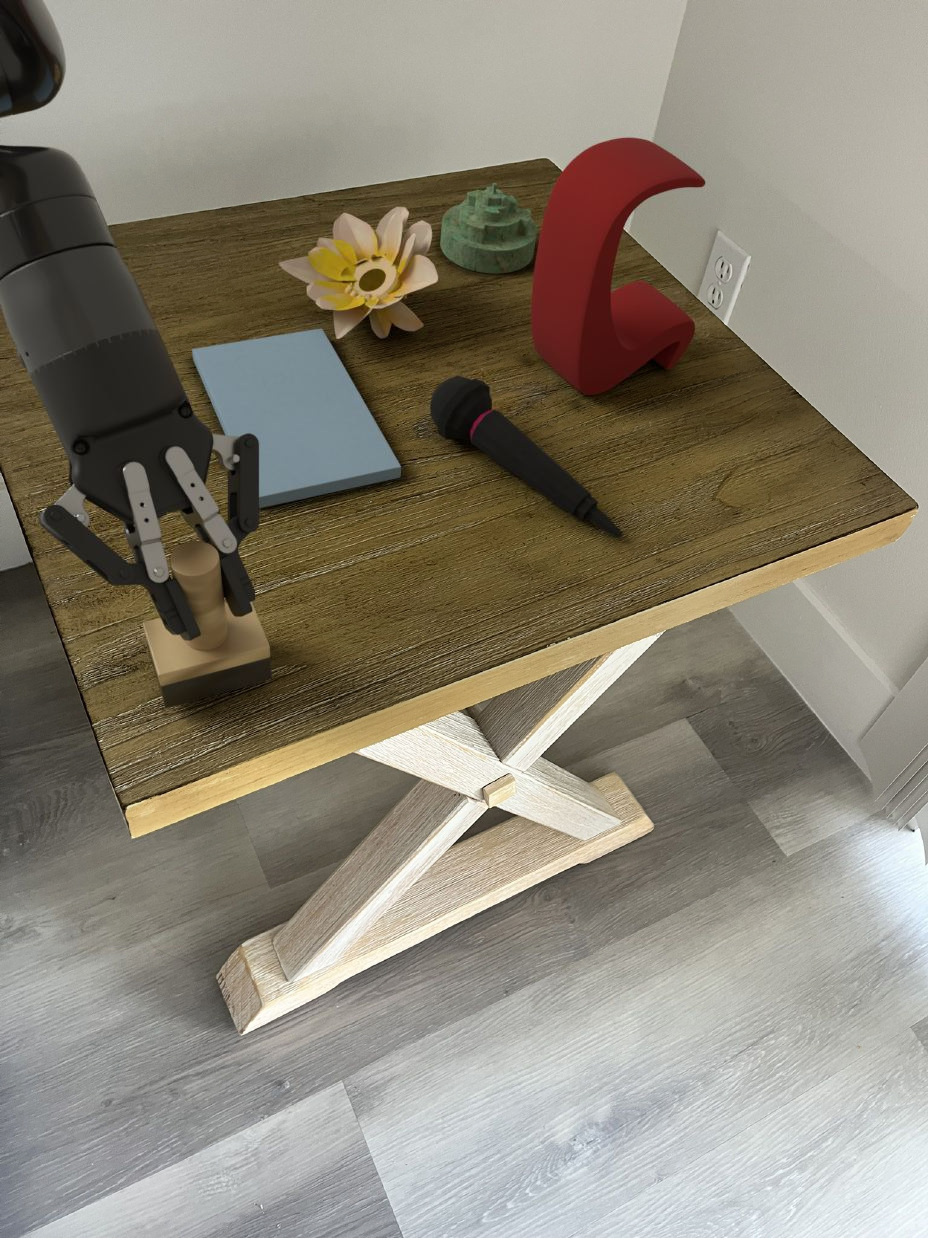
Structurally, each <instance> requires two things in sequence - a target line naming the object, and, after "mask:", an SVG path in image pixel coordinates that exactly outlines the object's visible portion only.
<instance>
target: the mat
mask: <svg viewBox="0 0 928 1238" xmlns="http://www.w3.org/2000/svg"><path fill="white" fill-rule="evenodd" d="M191 352H192V360H193V362H194V365H195V367H196V370H197V372H198V374H199V377H200V378H201V382H202V383H203V386H204V388H205V391H206V393H207V395H208V397H209V400H210V402H211V404H212V408H213V409H214V412H215V414H216V417H217V419H218V421H219V424H220V426H221V428H222V431H223V432H224V435H227V436H237V437H239V436H241V435H244V434H247V433H250V434H253V435H255V436H256V437H257V439H258V441H259V509H262V508H268V507H271V506H277V505H281V504H285V503H290V502H295V501H299V500H303V499H309V498H315V497H318V496H322V495H327V494H332V493H335V492H341V491H346V490H350V489H355V488H359V487H364V486H368V485H372V484H378V483H381V482H387V481H391V480H396V479H400V478H401V475H402V466H401V464H400V462H399V460H398V458H397V457H396V455H395V453H394V451H393V450H392V447H391V446H390V444H389V443H388V441H387V440H386V439H387V438H385V436H384V434H383V433H382V431H381V429H380V427H379V425H378V423H377V422H376V420H375V418H374V416H373V415H372V413H371V411H370V409H369V408H368V406H367V404H366V403H365V400H364V399H363V398H362V396H361V394H360V391H359V390H358V388H357V387H356V385H355V383H354V381H353V380H352V378H351V376H350V375H349V373H348V370H347V369H346V368H345V366H344V364H343V363H342V361H341V359H340V357H339V355H338V353H337V351H336V349H335V348H334V347H333V345H332V343H331V342H330V340H329V337H328V336H327V334H326V332H325V331H324V329H323V328H315V329H309V330H302V331H297V332H291V333H285V334H277V335H273V336H266V337H260V338H255V339H247V340H241V341H234V342H229V343H221V344H215V345H209V346H203V347H197V348H192V349H191Z"/></svg>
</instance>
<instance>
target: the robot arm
mask: <svg viewBox="0 0 928 1238" xmlns="http://www.w3.org/2000/svg"><path fill="white" fill-rule="evenodd" d="M64 47H65V46H64V44H63V41H62V38H61V35H60V32H59V30H58V28H57V25H56V23H55V21H54V19H53V16H52V14H51V13H50V11H49V9H48V6H47V5H46V3H45V1H44V0H0V119H3V118H4V119H5V118H8V117H11V116H17V115H21V114H25V113H29V112H34V111H38V110H40V109H42V108H45V107H47V105H49V104H50V103H52V101H53V100H54V99H55V98H56V97H57V96H58V94H59V92H60V91H61V88H62V86H63V84H64V81H65V77H66V71H67V60H66V59H67V58H66V52H65V48H64ZM0 308H1V311H2V313H3V318H4V321H5V324H6V327H7V331H8V332H9V334H10V337H11V339H12V341H13V344H14V346H15V348H16V352H17V357H18V360H19V362H20V363H21V365H22V367H23V368H24V369H25V370H26V372H27V374H28V376H29V378H30V380H31V382H32V384H33V386H34V389H35V390H36V392H37V395H38V397H39V399H40V401H41V403H42V405H43V408H44V410H45V411H46V414H47V416H48V418H49V420H50V422H51V425H52V427H53V429H54V431H55V433H56V435H57V438H58V439H59V442H60V443H61V446H62V448H63V450H64V452H65V454H66V456H67V459H68V466H69V468H68V469H69V470H68V482H69V485H70V486H69V487H68V489H67V490H66V491H65V492H64V493H63V494H62V495H61V496H60V497H59V498H58V499H57V500H56V501H55V502H54V503H53V504H50V505H48V507H46V508H45V509H43V510H42V511H41V512H40V513H39V514H38V523H39V525H40V527H42V528H43V529H44V530H45V531H46V532H48V534H50V535H51V536H52V537H53V538H54V539H56V541H58V542H60V544H61V545H63V546H64V547H65V548H66V549H68V550H69V551H70V552H71V553H72V554H73V555H75V556H76V557H77V558H78V559H80V560H81V561H82V562H83V563H84V564H85V565H86V566H88V567H89V568H90V569H91V570H93V571H94V572H95V573H96V574H97V575H98V576H100V577H101V578H102V580H104V581H106V582H107V583H108V584H109V585H111V586H114V587H122V586H139V587H143V588H144V589H145V590H146V591H147V592H148V594H149V596H150V599H151V600H152V601H151V602H152V603H153V605H154V607H155V609H156V611H157V613H158V616H159V618H161V620H162V622H163V624H164V626H165V629H166V630H168V631H169V632H170V633H171V634H172V635H180V636H181V637H182V639H183V640H186V641H191V640H193V639H195V638H197V637H199V636H201V632H200V629H199V627H198V625H197V623H196V620H195V618H194V616H193V614H192V612H191V609H190V607H189V605H188V603H187V601H186V599H185V596H184V594H183V592H182V590H181V588H180V585H179V583H178V581H177V579H176V578H175V579H173V578H172V576H171V575H170V573H171V572H170V571H171V570H170V568H169V563H168V561H167V556H166V553H165V550H164V545H163V535H162V530H161V526H160V523H159V519H162V518H163V517H164V516H165V515H167V514H168V513H176V512H179V514H180V515H181V517H182V518H183V520H184V521H185V523H186V524H187V525H188V526H189V527H191V529H192V530H193V531H194V533H195V534H196V536H197V537H198V539H199V541H200V542H205V543H208V544H210V545H212V546H213V547H214V548H215V549H216V550H217V551H218V554H219V559H220V567H221V575H222V583H223V591H224V600H225V602H227V604H228V606H229V609H230V611H231V612H232V614H233V615H234V616H235V617H242V616H245V615H247V614H249V613H251V612H252V611H253V610H252V606H251V603H250V602H254V601H256V590H255V587H254V586H253V583H252V581H251V579H250V577H249V574H248V572H247V569H246V567H245V564H244V562H243V561H242V558H241V556H240V553H239V547H240V545H241V543H242V542H243V541H244V540H245V539H246V538H247V537H248V536H249V535H250V534H251V533H254V532H255V531H257V530H258V528H259V526H260V508H259V441H258V439H257V437H256V436H255V435H253V434H250V433H247V434H244V435H241V436H239V437H237V436H227V435H225V434H215V433H213V432H212V430H211V429H210V427H209V426H207V425H206V424H205V423H204V422H203V421H202V420H201V419H199V417H198V416H197V415H196V413H195V412H194V410H193V408H192V405H191V403H190V399H189V397H188V395H187V392H186V390H185V388H184V386H183V383H182V381H181V379H180V377H179V374H178V372H177V370H176V368H175V365H174V363H173V360H172V358H171V356H170V354H169V351H168V348H167V347H166V345H165V342H164V340H163V338H162V336H161V333H160V331H159V329H158V326H157V324H156V322H155V320H154V317H153V315H152V313H151V310H150V308H149V306H148V304H147V301H146V299H145V296H144V293H143V292H142V290H141V288H140V286H139V284H138V282H137V280H136V278H135V277H134V275H133V274H132V272H131V270H130V268H129V267H128V265H127V264H126V262H125V260H124V259H123V256H122V255H121V252H120V250H119V249H118V246H117V243H116V241H115V239H114V236H113V234H112V233H111V230H110V228H109V225H108V223H107V220H106V219H105V216H104V214H103V211H102V209H101V207H100V205H99V203H98V201H97V198H96V195H95V193H94V191H93V188H92V186H91V184H90V182H89V180H88V178H87V176H86V174H85V172H84V170H83V169H82V167H81V165H80V164H79V162H78V161H77V160H76V159H75V158H74V157H73V155H71V154H69V153H68V152H66V151H65V150H62V149H60V148H56V147H52V146H42V145H13V144H12V145H9V144H0ZM212 454H213V455H215V456H216V458H217V462H218V466H219V468H220V469H221V470H222V471H223V472H226V473H227V522H226V521H225V519H224V518H223V516H222V514H221V509H220V507H219V505H218V504H217V502H216V500H215V499H214V497H213V496H212V494H211V492H210V490H209V489H208V488H207V487H206V484H207V478H208V473H209V468H210V464H211V458H212ZM85 500H86V501H88V502H89V503H91V504H93V505H94V506H95V507H98V508H100V509H101V510H103V511H105V512H106V513H108V514H110V515H111V516H113V517H115V518H116V519H118V520H120V521H121V524H122V526H123V530H124V534H125V538H126V541H127V543H128V546H129V548H130V549H131V552H132V555H133V559H134V563H131V562H130V563H128V562H127V561H126V559H124V558H123V557H122V556H121V555H120V554H118V552H116V551H115V550H114V549H112V548H111V547H110V546H109V545H108V544H107V543H105V541H103V540H102V539H101V538H100V537H99V536H97V534H95V533H94V532H93V531H92V530H91V529H90V528H88V526H89V525H90V524H91V523H90V522H91V516H90V513H89V512H88V511H87V510H86V508H85V506H84V501H85Z"/></svg>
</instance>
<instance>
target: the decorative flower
mask: <svg viewBox="0 0 928 1238" xmlns="http://www.w3.org/2000/svg"><path fill="white" fill-rule="evenodd" d="M409 214H410V212H409V210H408V209H407V208H406V207H405V206H396V207H393V208H392V209H390V211H388V212H387V213H386V214H385V215H384V216H382V218H381V219H380V220H379V223H378V224H377V226H376V230H374V229H373V228H372V227H371V225H370V224H369V223H368V222H366V221H364V220H362V219H360V218H358V217H356V216H354V215H352V214H351V213H347V212H343V213H342V214H340V215H339V216H338V217H337V218H336V219H335V220H334V222H333V227H332V237H333V238H328V237H319V238H318V240H317V242H316V246H315V247H313V248H312V249H311V250H309V251H308V252H307V253H308V254H307V255H305V256H301V257H296V258H291V259H285V260H283V261H279V262H278V265H279V267H280V268H281V269H282V270H284V271H285V272H287V273H288V274H289V275H291V276H293V277H295V278H296V279H299V280H300V281H302V282H305V283H306V284H308V285H307V286H306V296H307V297H309V298H310V299H311V300H313V301H314V302H315V305H316V306H318V307H319V308H320V309H321V310H329V311H333V312H332V318H333V326H334V327H333V328H334V333H335V335H334V336H335V338H336V340H339V339H341V338H343V337H344V336H345V335H347V334H348V333H350V332H351V331H352V330H353V329H355V328H356V327H357V326H358V325H359V324H360V323H361V322H362V321H363V320H364V319H365V318H366V317H367V316H368V317H369V318H368V319H369V321H370V326H371V330H372V331H373V333H374V334H375V335H376V336H377V337H378V338H380V339H385V338H387V337H388V336H389V334H390V330H391V326H392V324H393V325H394V326H395V327H397V328H399V329H401V330H403V331H406V332H415V331H418V330H420V329H421V328H423V327H424V326H425V324H424V323H423V322H422V320H420V319H419V317H418V316H417V315H416V313H414V312H413V311H412V310H411V309H410V308H409V307H408V305H406V304H405V303H404V302H402V301H401V300H402V299H404V300H407V299H408V297H407V295H408V294H410V293H413V292H417V291H419V290H422V289H424V288H427V287H429V286H432V285H434V284H436V283H437V282H438V281H439V275H438V272H437V269H436V266H435V264H434V263H433V262H432V261H431V260H430V259H429V258H428V257H426V254H427V253H428V251H429V249H430V246H431V242H432V240H433V239H432V238H433V231H432V226H431V224H430V223H428V222H426V221H425V220H423V219H421V220H419V221H417V222H415V223H413V224H412V225H410V227H409V228H408V229H407V230H406V232H405V233H404V229H405V227H406V226H407V225H406V224H407V221H408V218H409ZM403 233H404V236H403Z"/></svg>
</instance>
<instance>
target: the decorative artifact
mask: <svg viewBox="0 0 928 1238" xmlns="http://www.w3.org/2000/svg"><path fill="white" fill-rule="evenodd" d="M441 219H442V220H441V230H440V240H439V241H440V243H439V244H440V246H439V247H440V249H441V251H442V253H443V255H444V256H445V257H446V258H447V259H448V260H449V261H451V262H452V263H453V264H454V265H457V266H459V267H461V268H464V269H466V270H469V271H473V272H477V273H483V274H493V275H497V274H498V275H499V274H508V273H512V272H513V273H514V272H516V271H519V270H521V269H524V268H525V267H526V266H527V265H529V264H530V263H531V261H532V260H533V258H534V253H535V248H536V247H535V246H536V241H537V236H538V235H537V234H538V228H537V225H536V222H535V221H534V220H533V219H532V211H531V209H530V208H521V206H520V205H519V204H518V201H517V199H516V198H515V197H514V195H512V194H510V195H506V194H504V192H503V191H502V190H501V189H499V188H498V183H497V182H493V183H492V186H486V187H485V190H484V189H483V190H481V189H480V190H479V189H476V190H473V191H468V192H466V198H465V199H463V201H462V202H461V203H459V204H457V205H454V206H452V207H450V208H448V210H446V211H445V213H444V214H443V216H442V218H441Z"/></svg>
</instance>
